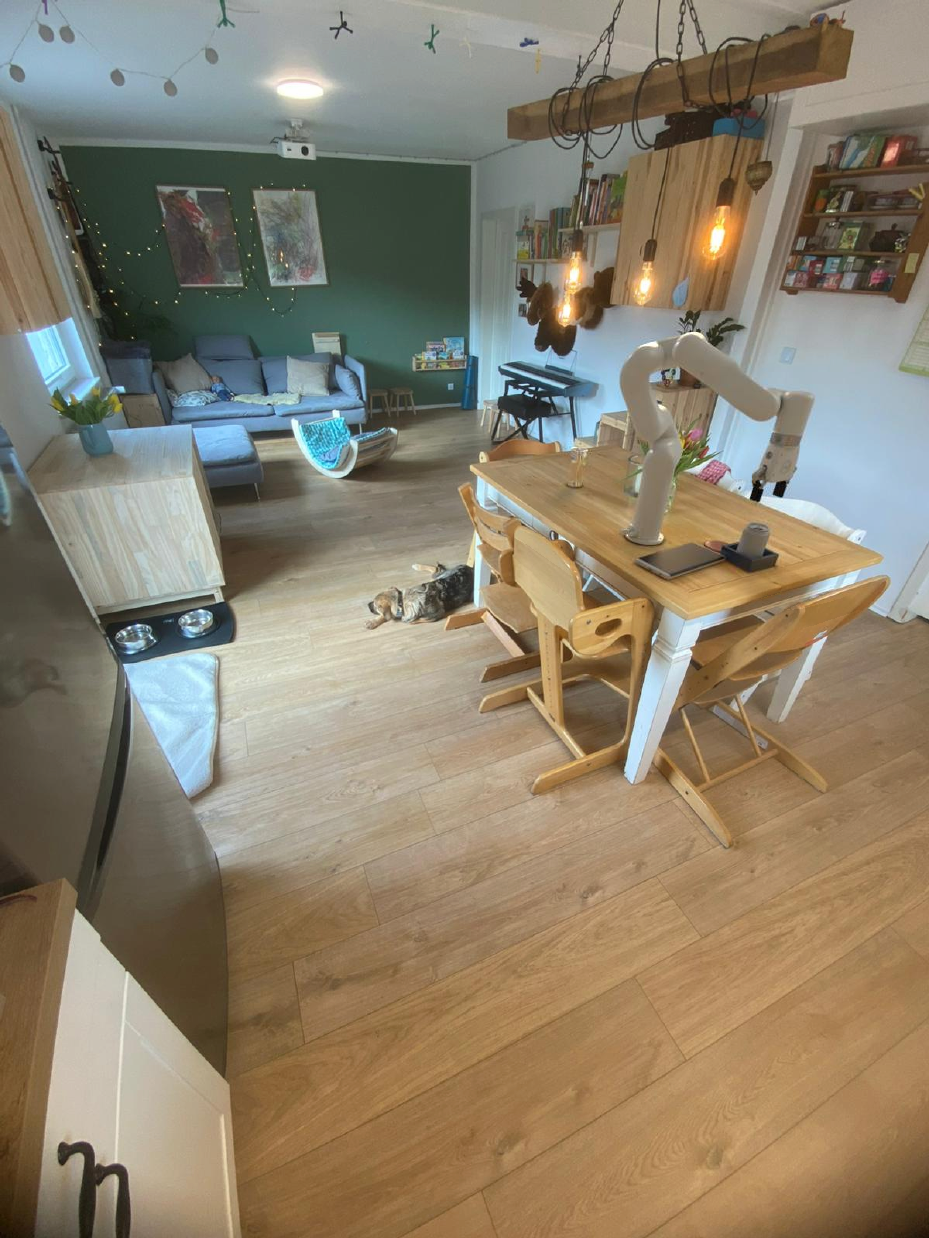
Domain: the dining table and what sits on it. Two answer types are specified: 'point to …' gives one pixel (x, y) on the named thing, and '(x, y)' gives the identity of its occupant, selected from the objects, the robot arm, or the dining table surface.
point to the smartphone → (679, 560)
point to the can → (753, 540)
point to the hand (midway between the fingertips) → (766, 498)
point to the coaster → (715, 545)
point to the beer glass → (577, 466)
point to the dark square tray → (745, 562)
